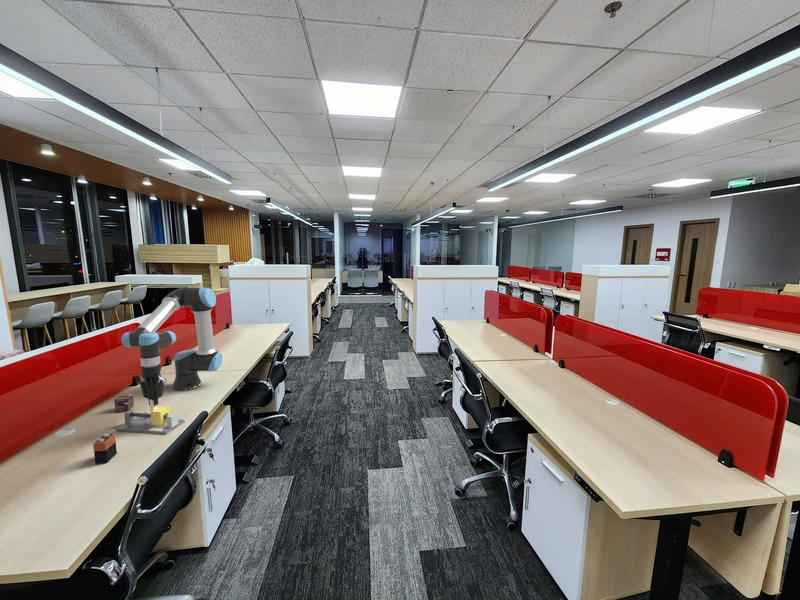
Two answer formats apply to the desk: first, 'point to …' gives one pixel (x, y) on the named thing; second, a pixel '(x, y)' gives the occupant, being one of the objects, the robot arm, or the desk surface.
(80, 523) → the desk surface
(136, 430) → the gray rail plate
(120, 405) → the box
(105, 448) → the battery
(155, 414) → the sleeve
